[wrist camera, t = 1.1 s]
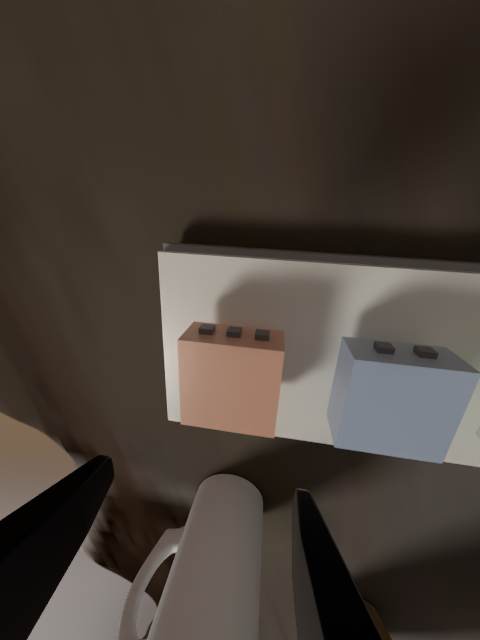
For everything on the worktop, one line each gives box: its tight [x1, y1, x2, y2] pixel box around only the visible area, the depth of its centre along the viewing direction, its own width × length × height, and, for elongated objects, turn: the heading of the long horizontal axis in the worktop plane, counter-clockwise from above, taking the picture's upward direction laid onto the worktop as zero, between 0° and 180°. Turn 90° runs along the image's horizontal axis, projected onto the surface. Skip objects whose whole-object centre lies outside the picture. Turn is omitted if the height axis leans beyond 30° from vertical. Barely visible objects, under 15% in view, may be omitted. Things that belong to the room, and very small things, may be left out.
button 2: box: [326, 336, 480, 464], centre depth 13 cm, size 5×5×2 cm
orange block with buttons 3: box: [177, 321, 285, 438], centre depth 14 cm, size 5×5×2 cm
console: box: [158, 242, 480, 467], centre depth 17 cm, size 26×12×2 cm, turn 87°
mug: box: [117, 474, 263, 640], centre depth 19 cm, size 10×7×12 cm, turn 106°
